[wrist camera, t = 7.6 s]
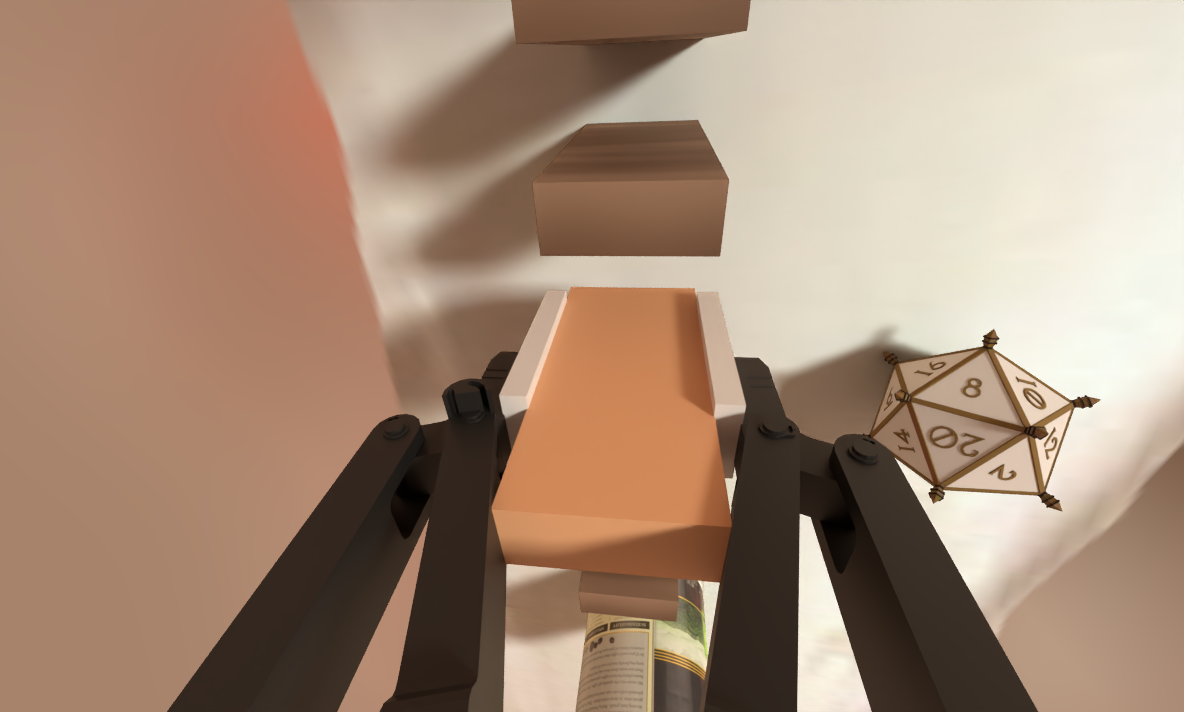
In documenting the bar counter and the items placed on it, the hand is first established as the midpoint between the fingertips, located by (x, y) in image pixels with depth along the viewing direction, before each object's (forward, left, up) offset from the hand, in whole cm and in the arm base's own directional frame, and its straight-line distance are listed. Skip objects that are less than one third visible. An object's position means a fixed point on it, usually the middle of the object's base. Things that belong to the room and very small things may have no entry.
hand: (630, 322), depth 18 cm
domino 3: (0, 0, -1) cm, 1 cm away
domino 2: (-5, -2, -7) cm, 9 cm away
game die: (-2, +18, -8) cm, 20 cm away
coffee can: (+27, +17, -8) cm, 33 cm away
